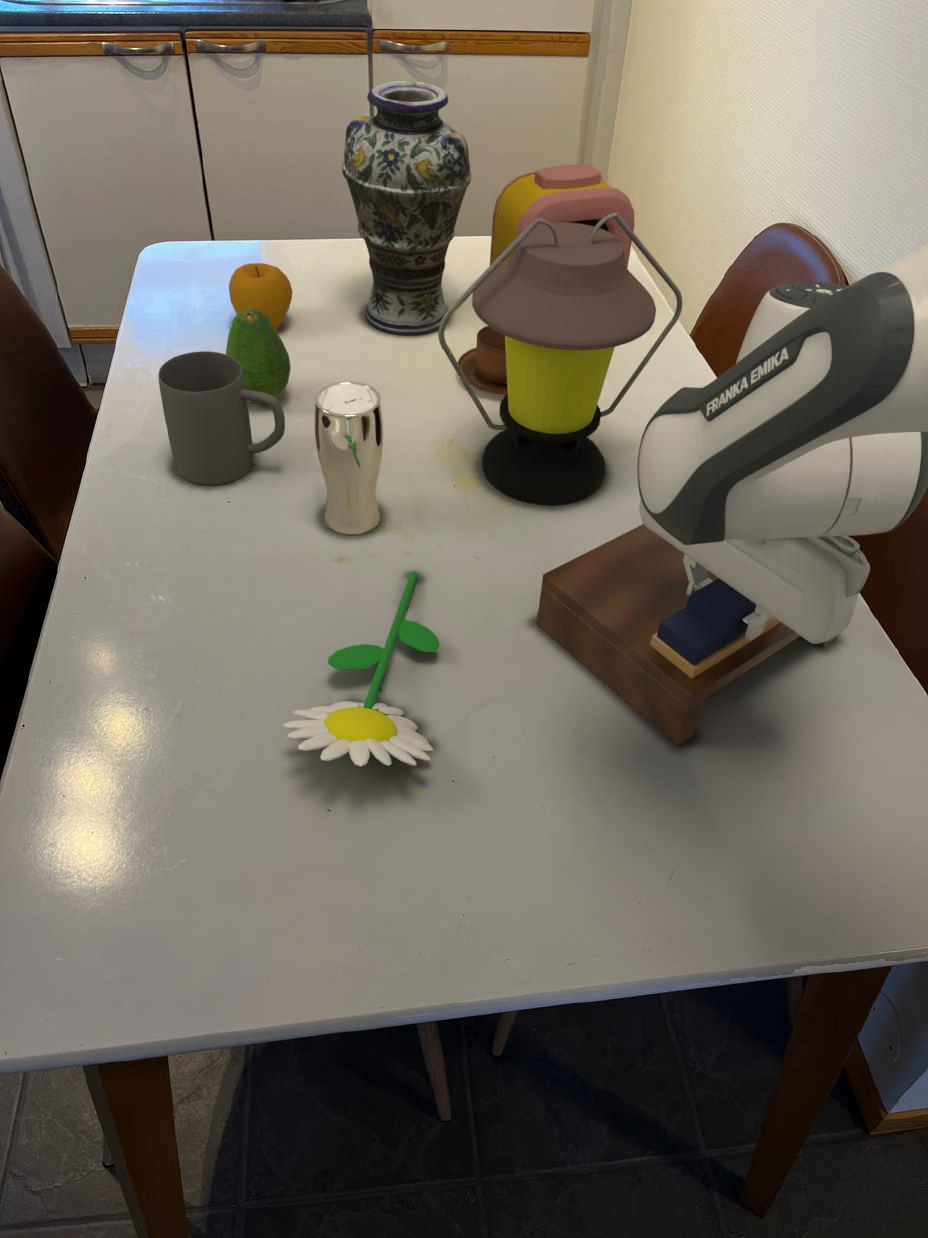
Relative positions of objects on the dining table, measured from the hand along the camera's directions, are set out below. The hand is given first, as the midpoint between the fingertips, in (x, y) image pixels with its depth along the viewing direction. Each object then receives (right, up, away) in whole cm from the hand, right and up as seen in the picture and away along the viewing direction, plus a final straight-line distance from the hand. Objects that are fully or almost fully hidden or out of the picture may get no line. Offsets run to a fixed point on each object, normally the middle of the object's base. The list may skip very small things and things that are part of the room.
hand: (722, 614), depth 85 cm
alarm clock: (-9, +47, +62) cm, 79 cm away
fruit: (-48, +27, +39) cm, 68 cm away
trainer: (0, -2, +1) cm, 2 cm away
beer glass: (-35, +11, +22) cm, 43 cm away
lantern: (-13, +17, +30) cm, 37 cm away
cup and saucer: (-18, +32, +45) cm, 58 cm away
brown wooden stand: (-1, -2, +11) cm, 11 cm away
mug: (-50, +17, +28) cm, 59 cm away
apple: (-51, +41, +53) cm, 84 cm away
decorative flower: (-30, -6, +5) cm, 31 cm away
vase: (-31, +44, +57) cm, 79 cm away
